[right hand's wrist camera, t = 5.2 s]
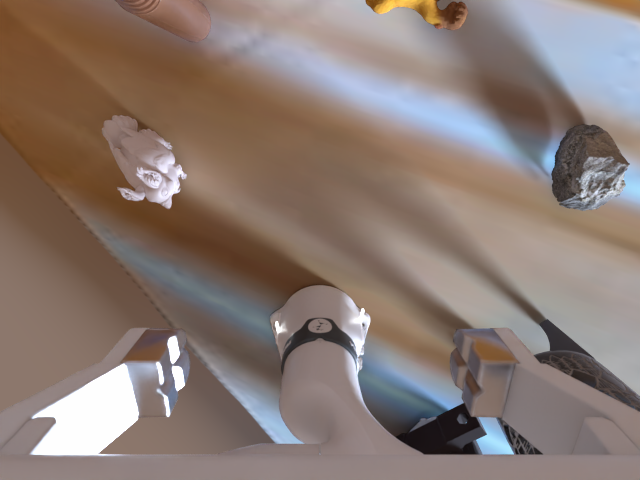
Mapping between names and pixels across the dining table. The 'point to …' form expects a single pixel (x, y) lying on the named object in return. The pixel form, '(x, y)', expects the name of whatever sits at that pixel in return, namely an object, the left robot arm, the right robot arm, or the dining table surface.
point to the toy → (427, 11)
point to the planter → (578, 366)
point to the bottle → (173, 16)
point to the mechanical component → (446, 434)
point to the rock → (587, 168)
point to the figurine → (143, 161)
